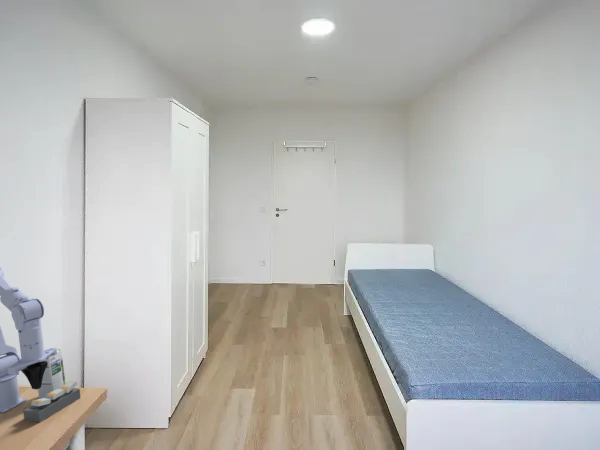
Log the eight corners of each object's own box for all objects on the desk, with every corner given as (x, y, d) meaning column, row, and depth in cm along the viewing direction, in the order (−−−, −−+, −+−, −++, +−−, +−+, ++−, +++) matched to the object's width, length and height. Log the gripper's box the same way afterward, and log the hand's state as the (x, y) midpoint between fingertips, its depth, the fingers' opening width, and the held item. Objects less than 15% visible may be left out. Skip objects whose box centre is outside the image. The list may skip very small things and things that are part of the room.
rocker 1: (31, 405, 130) (31, 400, 130) (43, 402, 134) (43, 397, 134) (38, 406, 129) (39, 401, 129) (50, 403, 133) (50, 398, 133)
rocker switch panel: (24, 419, 131) (22, 407, 131) (65, 395, 145) (64, 384, 145) (39, 422, 129) (38, 410, 129) (80, 397, 143) (79, 386, 143)
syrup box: (54, 399, 143) (49, 355, 141) (38, 398, 144) (33, 355, 143) (66, 391, 148) (62, 348, 147) (51, 390, 150) (46, 348, 148)
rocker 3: (60, 392, 140) (59, 388, 139) (70, 383, 143) (69, 380, 143) (67, 393, 139) (66, 389, 138) (77, 384, 142) (76, 381, 142)
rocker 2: (46, 398, 135) (45, 394, 135) (57, 392, 139) (56, 388, 138) (53, 399, 134) (53, 395, 134) (64, 393, 138) (63, 389, 138)
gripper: (19, 353, 121) (24, 401, 122) (62, 334, 134) (67, 378, 136) (-1, 351, 123) (5, 398, 124) (44, 333, 137) (49, 376, 138)
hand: (36, 388), depth 130 cm, fingers closed
